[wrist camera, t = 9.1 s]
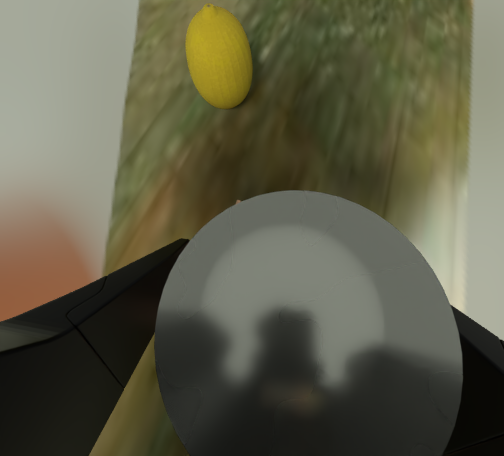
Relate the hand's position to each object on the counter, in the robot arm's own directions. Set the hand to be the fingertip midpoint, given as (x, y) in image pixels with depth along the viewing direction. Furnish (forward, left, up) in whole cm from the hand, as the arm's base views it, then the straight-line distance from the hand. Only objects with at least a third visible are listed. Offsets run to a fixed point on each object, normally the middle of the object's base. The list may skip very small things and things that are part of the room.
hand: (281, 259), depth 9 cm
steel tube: (-1, 0, -8) cm, 8 cm away
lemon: (+14, +10, -8) cm, 19 cm away
